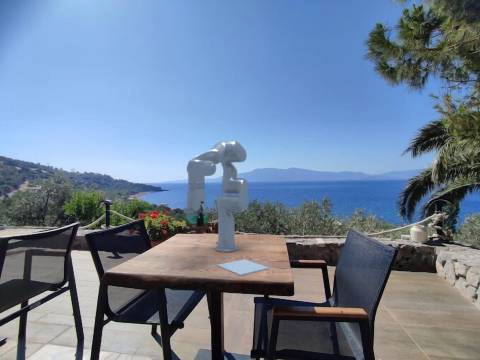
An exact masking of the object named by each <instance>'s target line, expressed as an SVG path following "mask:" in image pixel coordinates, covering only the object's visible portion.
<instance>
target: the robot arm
mask: <svg viewBox="0 0 480 360" xmlns="http://www.w3.org/2000/svg"><path fill="white" fill-rule="evenodd" d="M247 155H248V154H247V151H246V149H245V148H244V147H243V145H242V144H241V143H240V142H238V141H237V140H233V139H232V140H220V141H218V142H216V143H215V144H214V145H213V146H212V147H211V148H210V149H209V150H207V151H204V152H202V153H199V154H197V155H195V156H193V158H191V159H190V160H189V161H188V163H187V165H186V173H187V178H188V179H187V186H188V188H187V189H188V191H187V196H186V198H187V199H186V209H193V210H194V211H195V212H197V211H198V214H197V216H198V218H197V227H202V226H204V215H205V212H206V208H207V206H206V194H205V193H206V192H205V190H206V189H205V186H206V185H205V181H206V179H205V177H211V176H214V174H215V173H216V171H217V165H218V164H220V165H221V166H222V172H223V173H222V181H221V192H222V193H223V194H226V195H221V196H218V198H217V199H216V207H217V208H216V209H217V221H218V223H217V226H218V227H217V228H218V231H217V232H218V234H217V235H218V237H217V239H218V241H216V242H215V244H216V245H217V246H216V247H215V250H216V251H217V252H221V253H222V252H223V253H230V252H235V251H237V250H238V247H237V246H235V245H236V244H235V241H236V239H235V225H236V224H235V217H234V215H233V213H242V212H244V211H246V208H247V202H248V192H249V184H248V180H247V179H246V178H244V177H238V169H237V168H236V166H234V163H244V162H245V161H246V160H247V157H248V156H247ZM199 209H202V212H201V211H199ZM199 212H201V213H200V214H199Z"/></svg>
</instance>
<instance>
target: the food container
mask: <svg viewBox="0 0 480 360" xmlns="http://www.w3.org/2000/svg"><path fill="white" fill-rule="evenodd" d="M205 208H206V212H205V215H204V226H202V227H197V218H198V216H197V214H198V211H197V212H195V211H194V210H193V209H187V207H186V208H184V209H183V213H184V218H185V228H186V231H190V232H191V231H192V232H198V231H199V232H200V231H206V230H207V228H208V218H209V213H210V208H209V207H205ZM199 211H201V212H202V209H199ZM201 212H199V214H200V213H201Z"/></svg>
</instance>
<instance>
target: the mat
mask: <svg viewBox="0 0 480 360" xmlns="http://www.w3.org/2000/svg"><path fill="white" fill-rule="evenodd" d="M216 267H218V268H220V269H223V270H226V271H228V272H229V273H232V274H235V275H238V276H240V277H243V276H247V275H250V274H255V273H258V272H263V271H266V270H269V269H270V267H269V266H266V265H262V264H260V263H256V262H253V261H250V260H247V259H240V260H234V261H229V262H225V263H221V264H220V263H219V264H217V265H216Z"/></svg>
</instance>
